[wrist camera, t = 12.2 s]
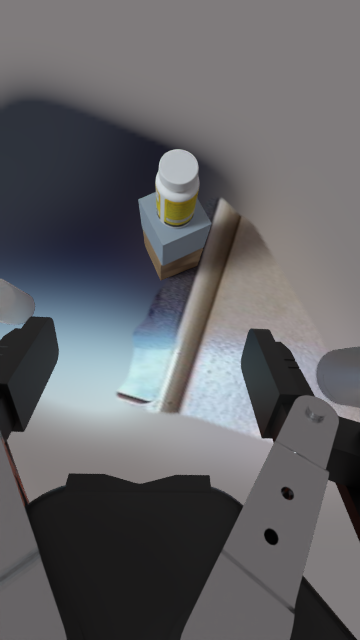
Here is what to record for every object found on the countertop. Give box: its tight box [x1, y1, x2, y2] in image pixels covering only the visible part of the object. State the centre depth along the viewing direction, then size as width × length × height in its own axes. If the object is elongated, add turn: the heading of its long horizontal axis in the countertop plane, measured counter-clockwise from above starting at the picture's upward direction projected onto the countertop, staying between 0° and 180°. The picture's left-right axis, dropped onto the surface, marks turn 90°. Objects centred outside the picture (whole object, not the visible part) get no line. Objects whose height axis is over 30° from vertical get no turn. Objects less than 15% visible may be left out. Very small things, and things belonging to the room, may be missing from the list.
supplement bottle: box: [156, 149, 199, 229], centre depth 33 cm, size 5×5×8 cm
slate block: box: [139, 193, 211, 266], centre depth 40 cm, size 7×7×7 cm
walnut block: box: [143, 230, 203, 280], centre depth 47 cm, size 7×7×7 cm
